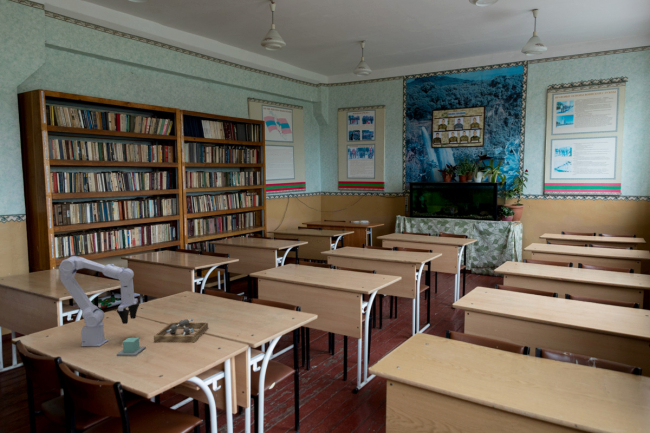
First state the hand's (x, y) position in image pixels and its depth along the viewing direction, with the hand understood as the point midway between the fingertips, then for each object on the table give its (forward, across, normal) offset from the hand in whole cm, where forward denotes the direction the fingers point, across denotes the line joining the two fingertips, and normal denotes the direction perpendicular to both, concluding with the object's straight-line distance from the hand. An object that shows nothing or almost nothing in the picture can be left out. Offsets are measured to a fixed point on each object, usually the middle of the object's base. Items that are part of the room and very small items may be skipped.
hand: (129, 320), depth 213 cm
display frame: (+10, +8, -23) cm, 26 cm away
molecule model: (+10, +10, -21) cm, 26 cm away
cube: (+9, -14, -8) cm, 19 cm away
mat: (+10, -14, -8) cm, 19 cm away
